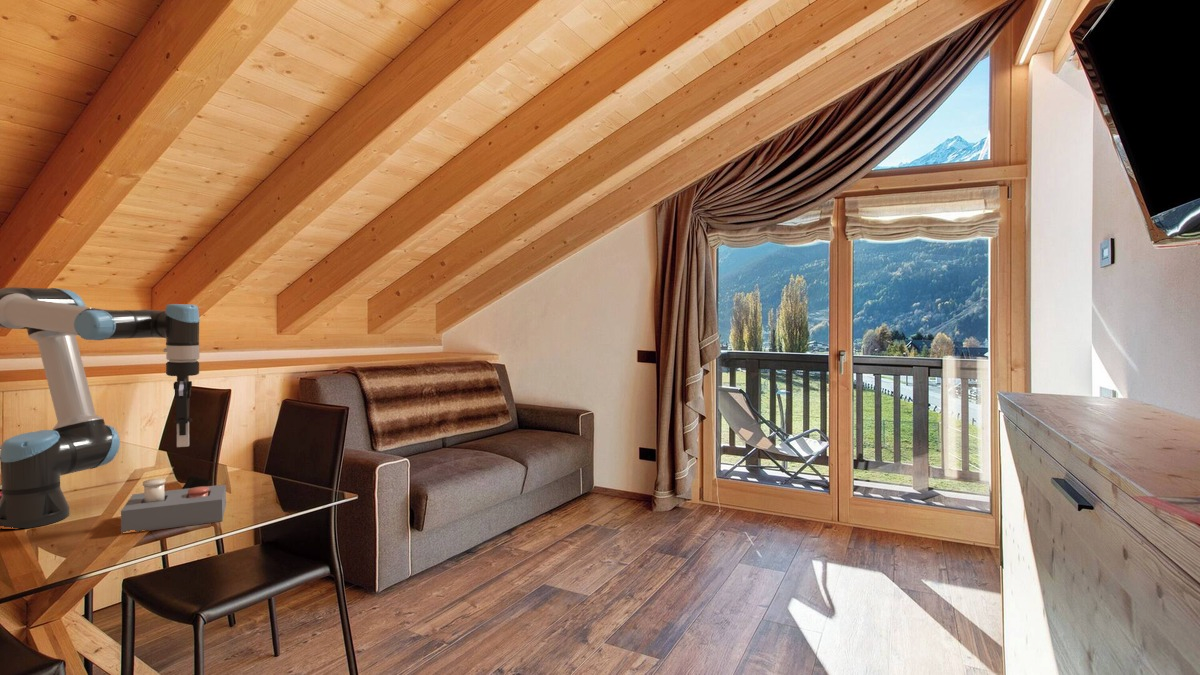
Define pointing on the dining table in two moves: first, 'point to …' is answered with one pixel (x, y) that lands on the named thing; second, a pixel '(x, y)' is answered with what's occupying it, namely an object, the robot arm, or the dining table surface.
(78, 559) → the dining table surface
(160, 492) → the ivory plunger
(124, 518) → the grey plunger base
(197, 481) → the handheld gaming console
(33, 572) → the dining table surface
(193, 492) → the red plunger
